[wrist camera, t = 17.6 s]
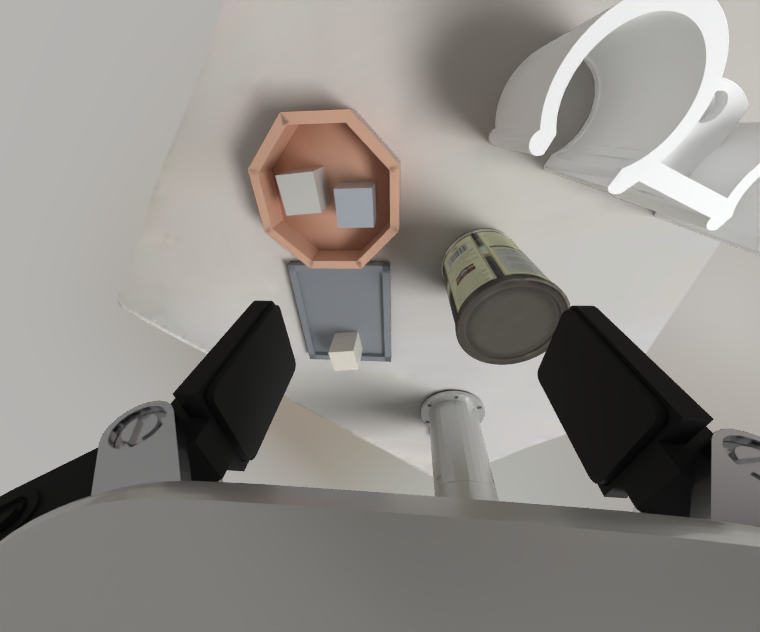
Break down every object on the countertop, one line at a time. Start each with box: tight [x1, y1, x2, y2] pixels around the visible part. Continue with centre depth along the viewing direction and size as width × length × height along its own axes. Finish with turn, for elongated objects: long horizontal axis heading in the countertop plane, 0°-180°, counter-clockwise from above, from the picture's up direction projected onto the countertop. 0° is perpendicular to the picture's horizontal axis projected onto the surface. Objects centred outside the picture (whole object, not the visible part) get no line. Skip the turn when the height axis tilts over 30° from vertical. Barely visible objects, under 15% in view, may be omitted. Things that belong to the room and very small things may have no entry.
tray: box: [287, 261, 391, 362], centre depth 43 cm, size 18×14×1 cm
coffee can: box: [441, 229, 570, 365], centre depth 32 cm, size 10×10×14 cm
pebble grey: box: [275, 166, 331, 216], centre depth 31 cm, size 4×4×5 cm
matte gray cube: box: [334, 180, 378, 228], centre depth 31 cm, size 4×4×5 cm
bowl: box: [248, 109, 400, 269], centre depth 32 cm, size 16×16×4 cm
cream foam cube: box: [328, 331, 363, 371], centre depth 44 cm, size 4×4×5 cm
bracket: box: [489, 0, 760, 256], centre depth 24 cm, size 25×10×12 cm, turn 69°
